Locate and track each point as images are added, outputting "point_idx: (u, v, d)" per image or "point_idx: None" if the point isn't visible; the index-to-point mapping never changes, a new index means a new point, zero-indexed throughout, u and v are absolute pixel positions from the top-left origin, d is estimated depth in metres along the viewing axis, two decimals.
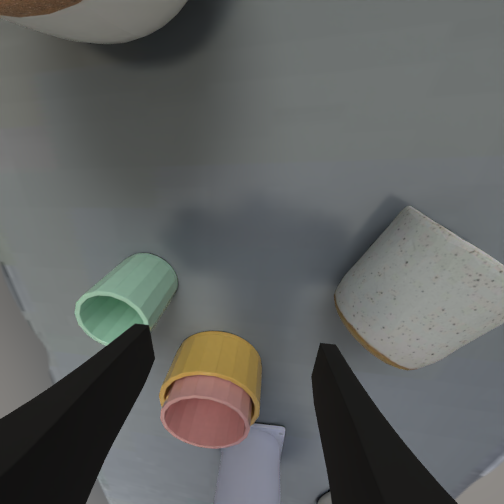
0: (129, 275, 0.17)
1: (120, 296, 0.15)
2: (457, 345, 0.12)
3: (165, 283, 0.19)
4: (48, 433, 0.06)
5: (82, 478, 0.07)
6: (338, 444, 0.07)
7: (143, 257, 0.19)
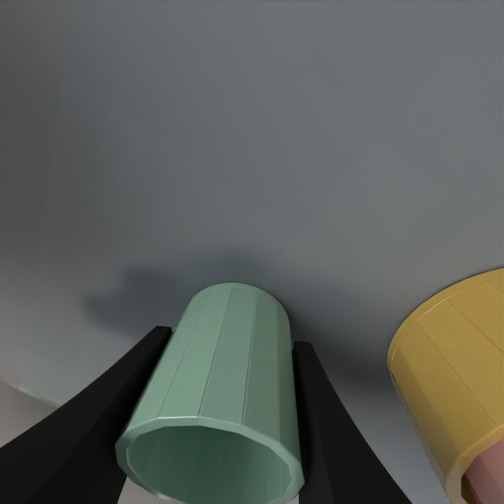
0: (163, 358, 0.08)
1: (146, 423, 0.06)
2: None
3: (239, 313, 0.08)
4: (87, 438, 0.06)
5: (113, 482, 0.07)
6: (304, 440, 0.07)
7: (186, 308, 0.10)
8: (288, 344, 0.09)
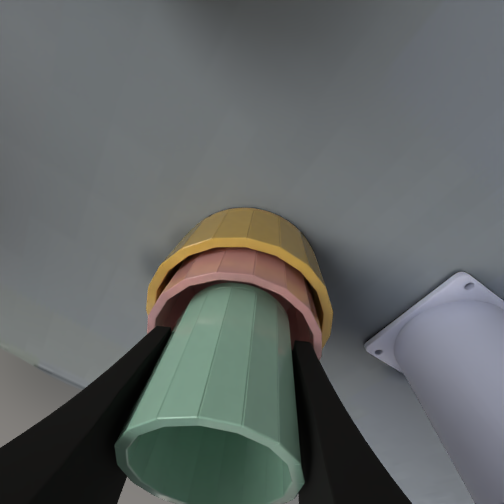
0: (163, 358, 0.08)
1: (146, 423, 0.06)
2: None
3: (239, 313, 0.08)
4: (87, 437, 0.06)
5: (113, 482, 0.07)
6: (304, 440, 0.07)
7: (185, 308, 0.10)
8: (288, 344, 0.09)
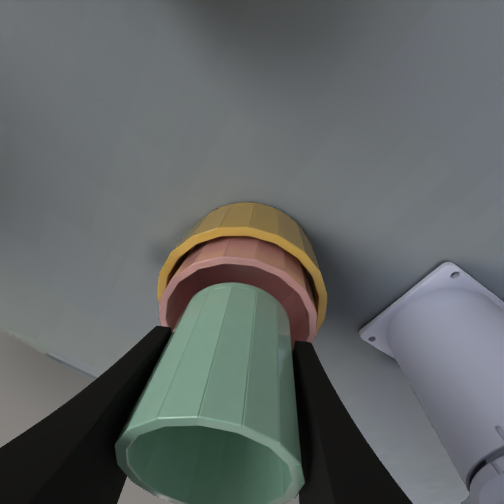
0: (163, 358, 0.08)
1: (146, 423, 0.06)
2: None
3: (239, 313, 0.08)
4: (87, 437, 0.06)
5: (113, 482, 0.07)
6: (305, 440, 0.07)
7: (185, 308, 0.10)
8: (288, 344, 0.09)
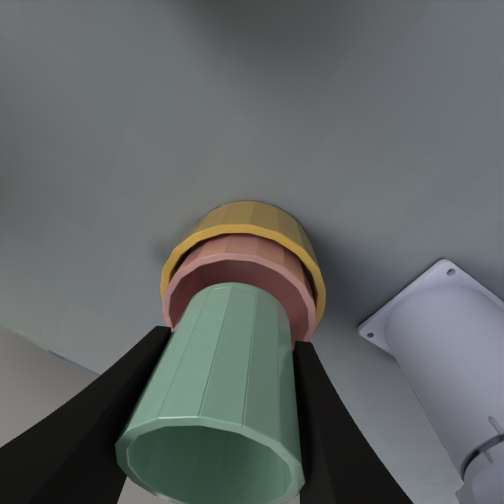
0: (163, 358, 0.08)
1: (146, 423, 0.06)
2: None
3: (240, 313, 0.08)
4: (86, 437, 0.06)
5: (113, 482, 0.07)
6: (305, 440, 0.07)
7: (186, 308, 0.10)
8: (288, 344, 0.09)
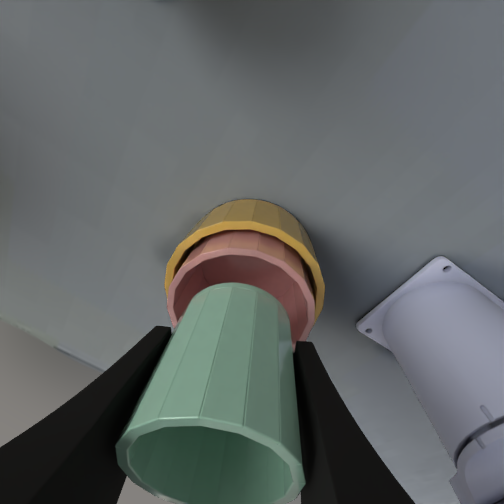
0: (164, 358, 0.08)
1: (147, 423, 0.06)
2: None
3: (240, 313, 0.08)
4: (86, 437, 0.06)
5: (112, 482, 0.07)
6: (306, 440, 0.07)
7: (186, 308, 0.10)
8: (289, 344, 0.09)
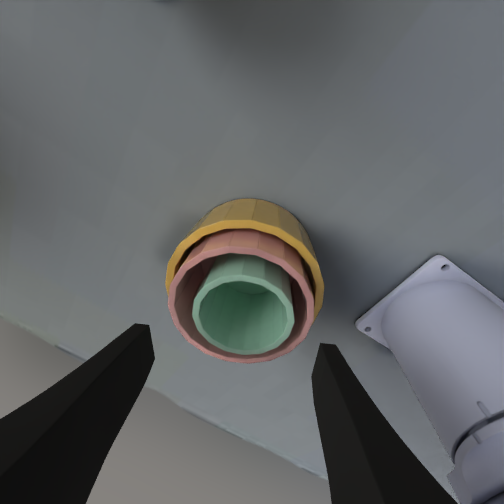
0: (214, 264, 0.13)
1: (214, 281, 0.11)
2: None
3: None
4: (48, 433, 0.06)
5: (82, 477, 0.07)
6: (338, 444, 0.07)
7: None
8: None
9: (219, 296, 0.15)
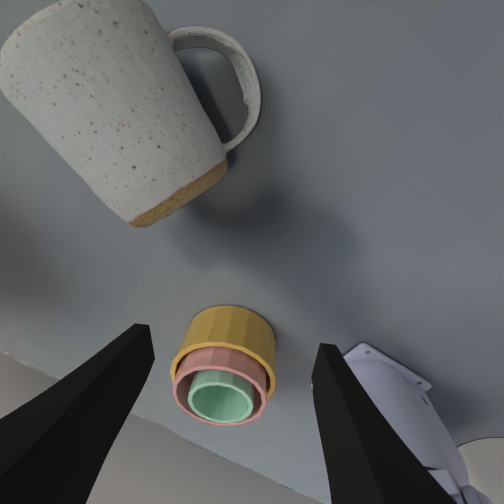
0: None
1: (201, 384, 0.18)
2: (129, 134, 0.10)
3: None
4: (48, 433, 0.06)
5: (82, 477, 0.07)
6: (338, 444, 0.07)
7: None
8: None
9: None
